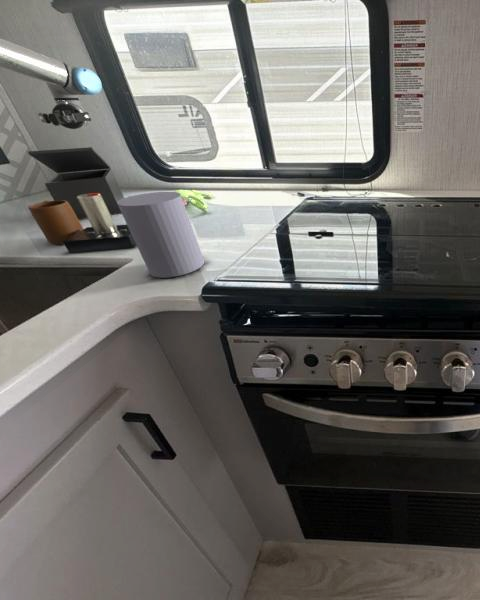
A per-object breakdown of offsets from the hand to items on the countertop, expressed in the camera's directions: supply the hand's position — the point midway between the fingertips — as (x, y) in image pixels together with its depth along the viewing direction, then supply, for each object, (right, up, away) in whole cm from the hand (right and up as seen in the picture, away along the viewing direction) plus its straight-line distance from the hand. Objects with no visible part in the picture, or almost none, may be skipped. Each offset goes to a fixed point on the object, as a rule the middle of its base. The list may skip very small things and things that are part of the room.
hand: (53, 119), depth 97 cm
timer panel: (+28, -38, -12) cm, 49 cm away
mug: (+13, -37, -9) cm, 40 cm away
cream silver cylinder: (+28, -36, -14) cm, 47 cm away
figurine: (+29, -23, +13) cm, 39 cm away
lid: (+1, -11, +5) cm, 12 cm away
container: (+54, -46, -25) cm, 75 cm away
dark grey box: (+1, -23, +13) cm, 27 cm away
